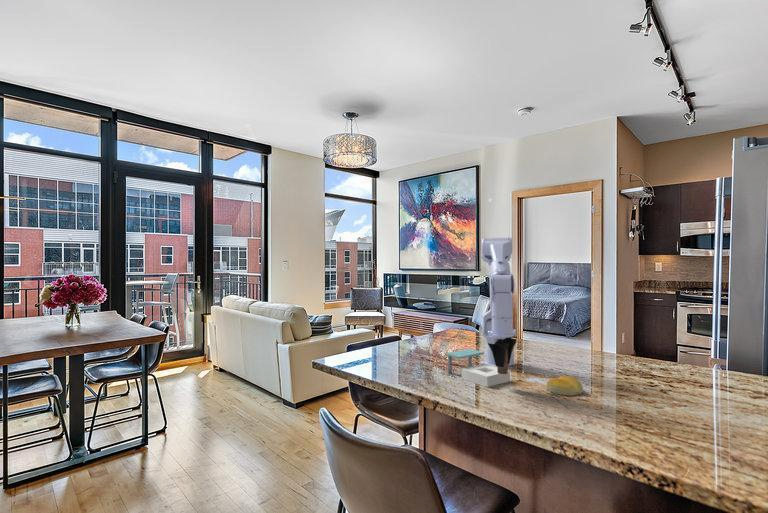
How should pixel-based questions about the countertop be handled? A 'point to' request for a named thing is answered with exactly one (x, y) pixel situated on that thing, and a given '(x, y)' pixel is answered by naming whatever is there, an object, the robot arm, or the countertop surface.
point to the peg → (504, 369)
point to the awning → (462, 354)
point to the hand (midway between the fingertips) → (502, 365)
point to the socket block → (484, 375)
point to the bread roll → (565, 386)
